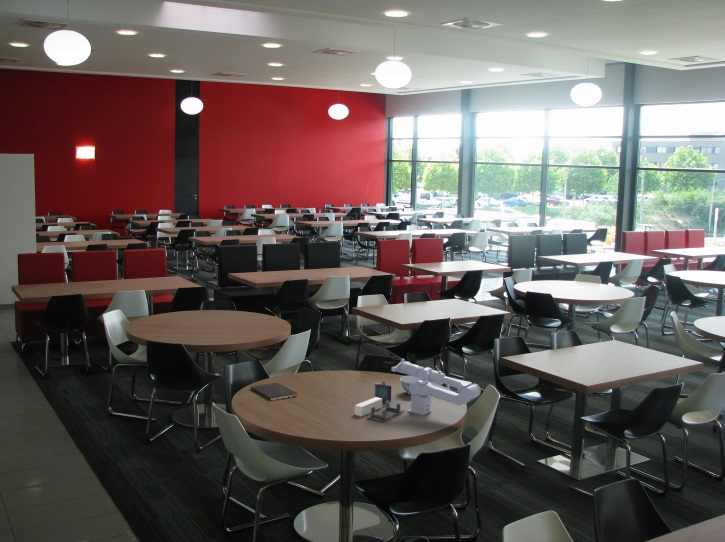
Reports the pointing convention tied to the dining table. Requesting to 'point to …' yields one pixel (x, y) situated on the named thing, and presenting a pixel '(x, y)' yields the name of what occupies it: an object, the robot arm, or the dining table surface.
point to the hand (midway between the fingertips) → (387, 362)
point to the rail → (368, 406)
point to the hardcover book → (273, 391)
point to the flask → (383, 391)
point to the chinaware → (408, 382)
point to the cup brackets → (385, 413)
